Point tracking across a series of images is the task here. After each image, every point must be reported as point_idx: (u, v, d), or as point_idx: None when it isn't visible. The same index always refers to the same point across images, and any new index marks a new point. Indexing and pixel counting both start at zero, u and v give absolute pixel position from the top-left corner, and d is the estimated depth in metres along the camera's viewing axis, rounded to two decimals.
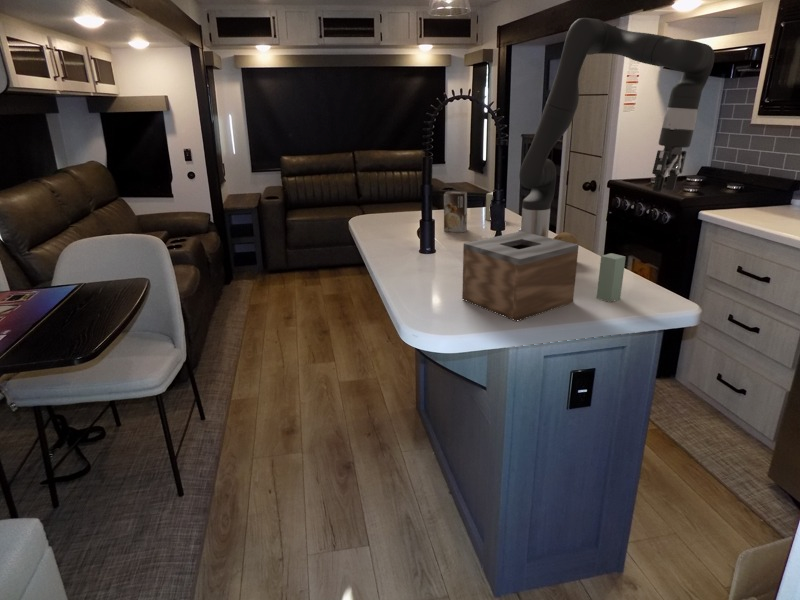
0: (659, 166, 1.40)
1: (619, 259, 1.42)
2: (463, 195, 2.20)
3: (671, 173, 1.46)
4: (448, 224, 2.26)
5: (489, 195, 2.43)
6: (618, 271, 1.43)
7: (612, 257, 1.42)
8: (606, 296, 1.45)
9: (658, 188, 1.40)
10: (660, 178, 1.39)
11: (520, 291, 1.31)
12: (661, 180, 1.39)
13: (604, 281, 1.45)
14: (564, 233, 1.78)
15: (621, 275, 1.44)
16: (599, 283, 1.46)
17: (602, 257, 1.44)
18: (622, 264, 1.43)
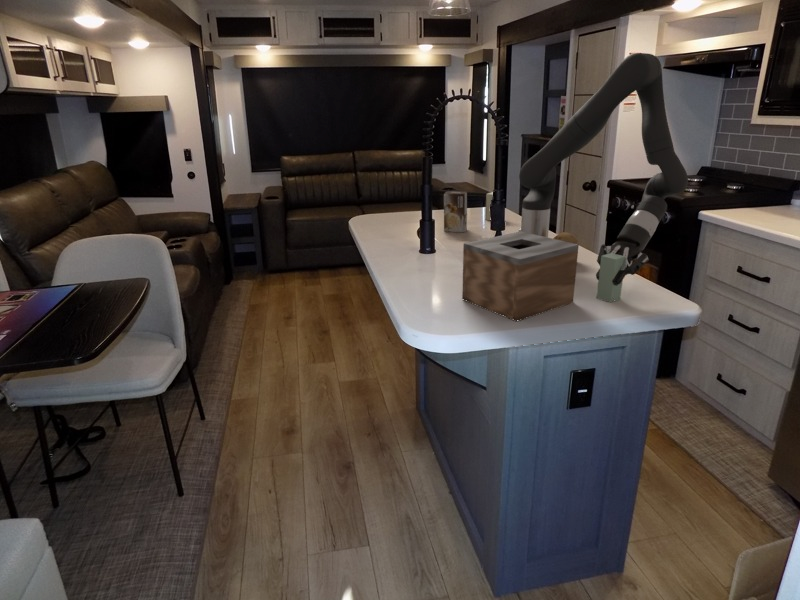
0: (627, 262, 1.43)
1: (619, 259, 1.42)
2: (463, 195, 2.20)
3: None
4: (448, 224, 2.26)
5: (489, 195, 2.43)
6: None
7: (612, 257, 1.42)
8: (606, 296, 1.45)
9: (619, 282, 1.43)
10: None
11: (520, 291, 1.31)
12: None
13: (604, 281, 1.45)
14: (564, 233, 1.78)
15: None
16: (599, 283, 1.46)
17: (602, 257, 1.44)
18: None
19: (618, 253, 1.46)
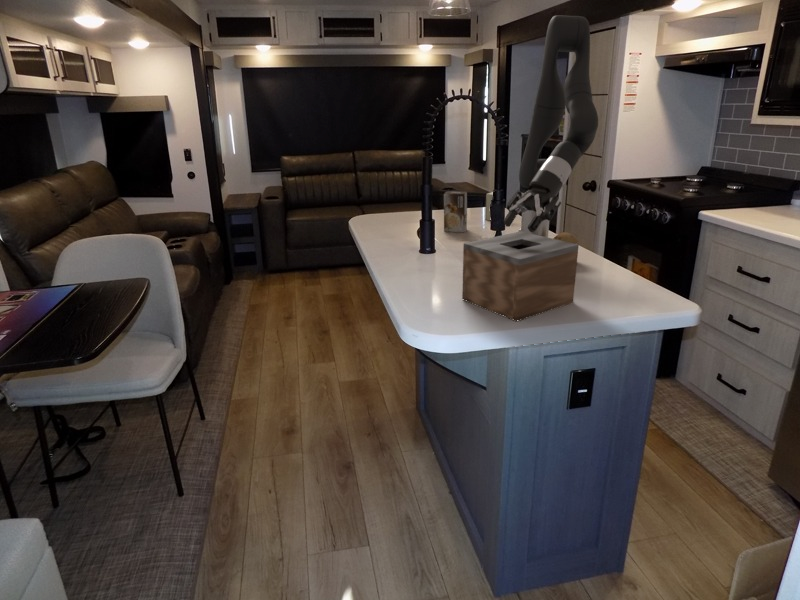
0: (541, 208, 1.36)
1: None
2: (463, 195, 2.20)
3: (514, 210, 1.43)
4: (448, 224, 2.26)
5: (489, 195, 2.43)
6: None
7: None
8: None
9: (535, 229, 1.36)
10: (541, 221, 1.36)
11: (520, 291, 1.31)
12: None
13: None
14: (564, 233, 1.78)
15: None
16: None
17: None
18: None
19: (527, 201, 1.40)
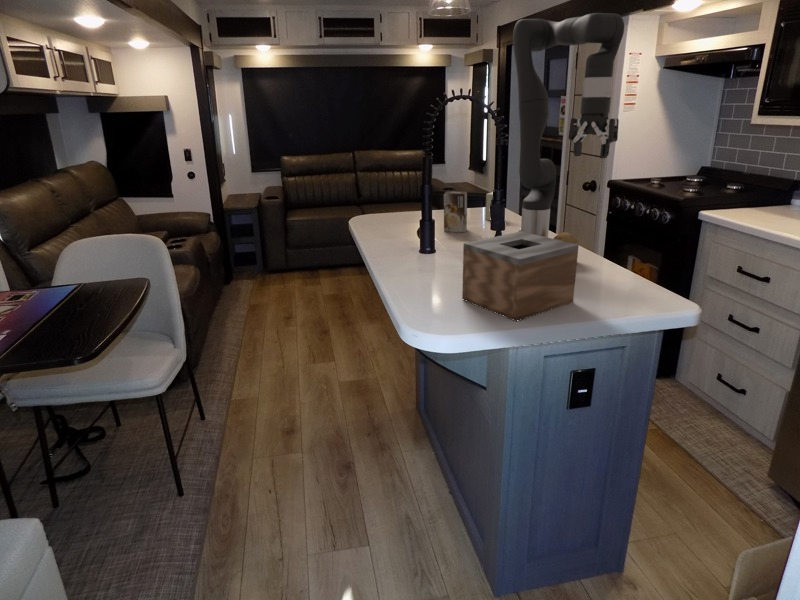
0: (603, 134, 1.46)
1: None
2: (463, 195, 2.20)
3: (578, 140, 1.53)
4: (448, 224, 2.26)
5: (489, 195, 2.43)
6: None
7: None
8: None
9: (607, 154, 1.48)
10: (609, 145, 1.47)
11: (520, 291, 1.31)
12: None
13: None
14: (564, 233, 1.78)
15: None
16: None
17: None
18: None
19: (586, 129, 1.50)
